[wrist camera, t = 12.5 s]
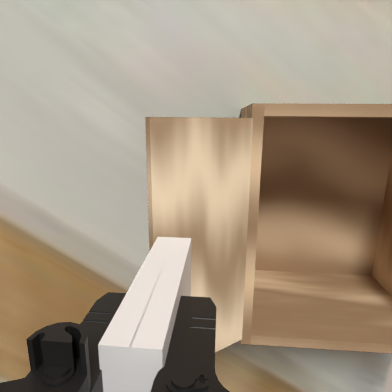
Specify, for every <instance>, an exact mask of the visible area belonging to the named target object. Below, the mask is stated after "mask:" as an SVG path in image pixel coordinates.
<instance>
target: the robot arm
mask: <svg viewBox="0 0 392 392" xmlns="http://www.w3.org/2000/svg"><path fill="white" fill-rule="evenodd" d="M215 337H216V306H215V304H214V302H213V301H212V299H211V298H210V297H194V296H191V238H176V237H157V239H156V241H155V243H154V244H153V246H152V248H151V250H150V252H149V253H148V255H147V257H146V259H145V261H144V263H143V264H142V266H141V268H140V270H139V272H138V273H137V275H136V277H135V279H134V281H133V282H132V284H131V286H130V288H129V290H128V291H127V293H110V292H108V293H107V294H105V295H104V296H103V297H101V298H100V299H98V300H97V301H96V302H95V304H94V305H93V307H92V308H91V309H90V311H89V313H88V314H87V315H86V317H85V318H84V319H83V322H81V324H76V323H72V322H63V323H56V324H52V325H49V326H46V327H44V328H42V329H40V330H38V331H36V332H35V333H34V334H32V335H31V336H30V337H29V338H28V339H27V346H28V353H29V360H30V367H31V371H30V372H29V374H28V375H27V376H26V378H22V379H18V380H13V381H8V382H2V383H0V392H229V391H228V390H227V389H225V388H224V387H223V386H222V384H221V383H220V382H219V381H218V378H217V376H216V374H215Z"/></svg>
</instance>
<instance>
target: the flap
mask: <svg viewBox="0 0 392 392" xmlns="http://www.w3.org/2000/svg"><path fill="white" fill-rule="evenodd" d="M145 119H146V150H147V181H148V212H149V243H150V250H151V248H152V246H153V244H154V243H155V241H156V239H157V237H176V238H191V296H194V297H210V298H211V299H212V301H213V302H214V304H215V306H216V337H215V352H217V351H219V350H221V349H223V348H225V347H227V346H229V345H232V344H234V343H236V342H238V341H240V340H242V329H243V309H244V290H245V270H246V251H247V231H248V212H249V192H250V173H251V153H252V134H253V118H189V117H145Z"/></svg>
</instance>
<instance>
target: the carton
mask: <svg viewBox="0 0 392 392" xmlns="http://www.w3.org/2000/svg"><path fill="white" fill-rule="evenodd" d="M241 118H253V134H252V153H251V173H250V192H249V212H248V231H247V251H246V270H245V290H244V309H243V329H242V340H240V344H251V345H267V346H283V347H299V348H315V349H331V350H347V351H363V352H379V353H392V104H251V105H249V106H247V107H245V108H243V109H241Z"/></svg>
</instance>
